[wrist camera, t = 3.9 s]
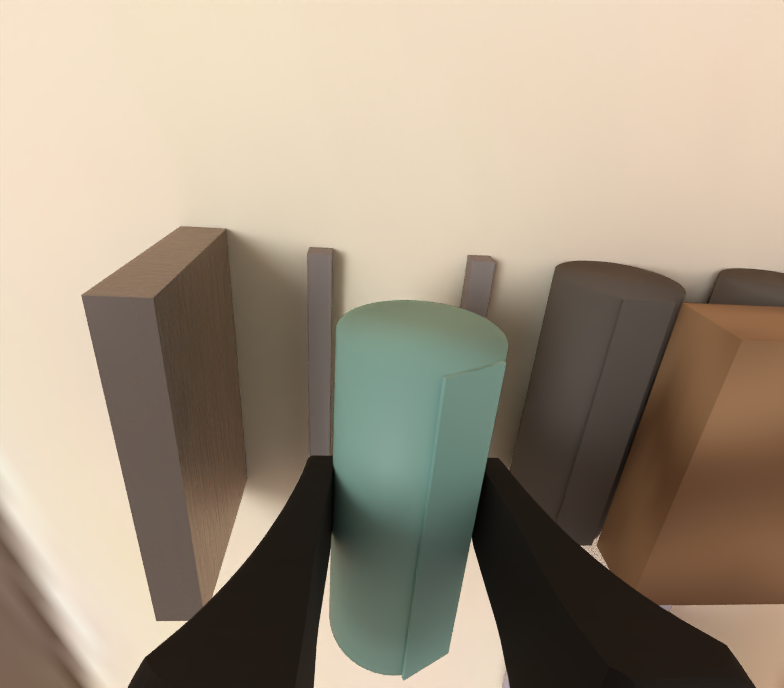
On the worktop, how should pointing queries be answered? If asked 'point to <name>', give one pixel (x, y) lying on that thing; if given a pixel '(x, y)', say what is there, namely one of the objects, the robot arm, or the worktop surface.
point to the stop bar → (174, 408)
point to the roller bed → (563, 372)
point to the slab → (707, 466)
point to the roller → (407, 474)
